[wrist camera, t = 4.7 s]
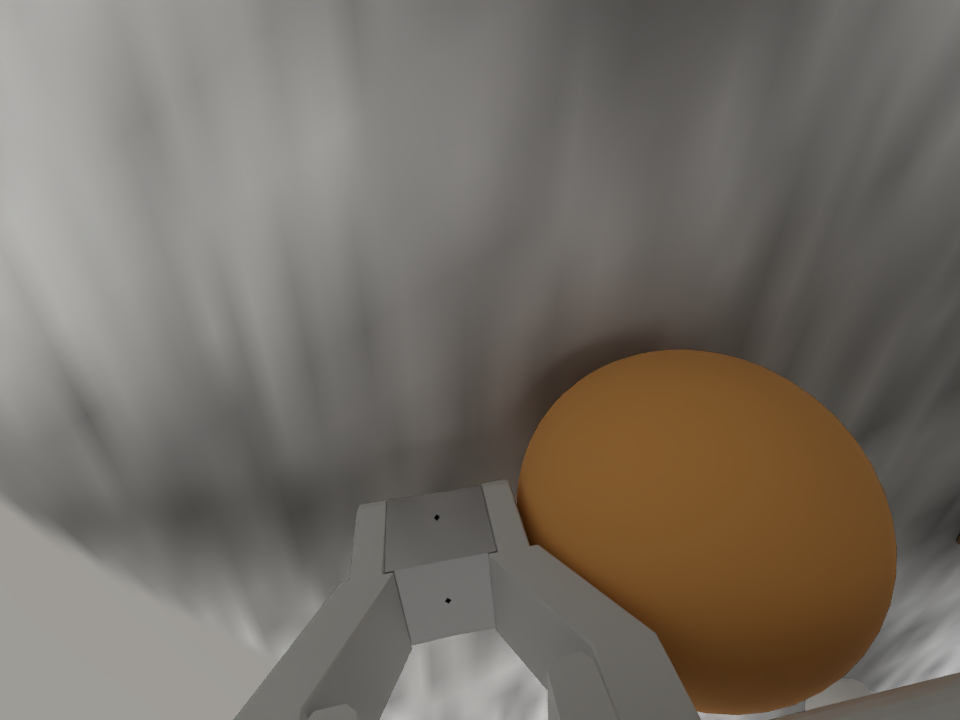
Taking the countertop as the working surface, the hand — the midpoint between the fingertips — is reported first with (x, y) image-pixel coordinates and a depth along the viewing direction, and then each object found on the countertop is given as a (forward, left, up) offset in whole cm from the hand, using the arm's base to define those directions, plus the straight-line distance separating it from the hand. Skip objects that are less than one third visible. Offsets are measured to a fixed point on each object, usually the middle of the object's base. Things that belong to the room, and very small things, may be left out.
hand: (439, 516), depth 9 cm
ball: (-4, 0, +1) cm, 4 cm away
